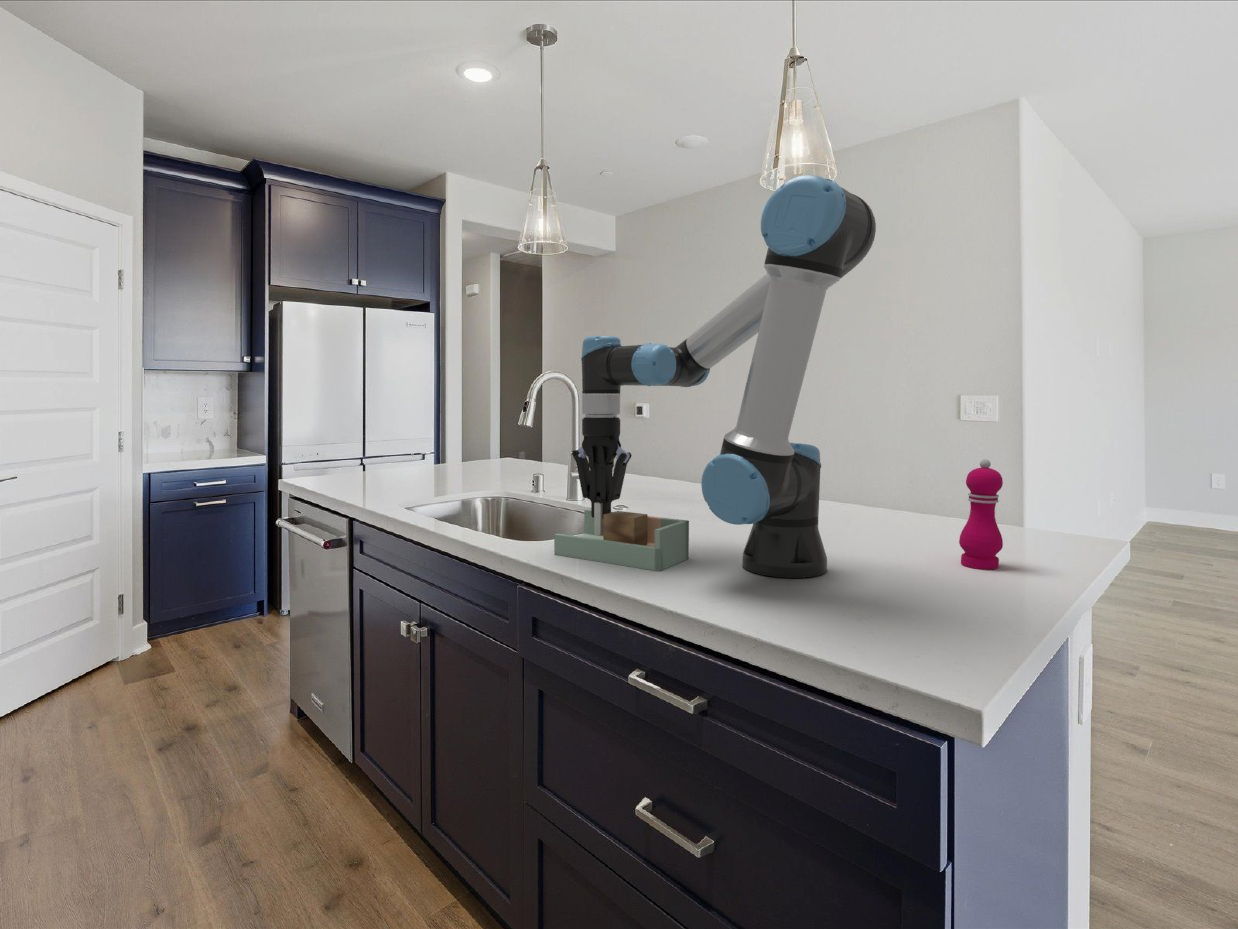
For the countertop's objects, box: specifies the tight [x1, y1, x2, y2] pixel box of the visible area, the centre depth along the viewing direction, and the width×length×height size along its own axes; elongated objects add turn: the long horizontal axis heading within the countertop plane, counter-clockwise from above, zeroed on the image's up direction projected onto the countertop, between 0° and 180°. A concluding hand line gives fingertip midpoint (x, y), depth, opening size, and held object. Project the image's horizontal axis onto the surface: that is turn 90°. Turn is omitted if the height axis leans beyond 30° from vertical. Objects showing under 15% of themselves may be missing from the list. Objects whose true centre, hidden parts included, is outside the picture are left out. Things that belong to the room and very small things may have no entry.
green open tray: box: [553, 508, 690, 572], centre depth 134 cm, size 24×12×8 cm, turn 57°
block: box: [603, 510, 649, 546], centre depth 133 cm, size 7×5×6 cm
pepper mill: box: [958, 458, 1004, 571], centre depth 127 cm, size 7×7×20 cm
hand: (601, 534), depth 136 cm, fingers closed
